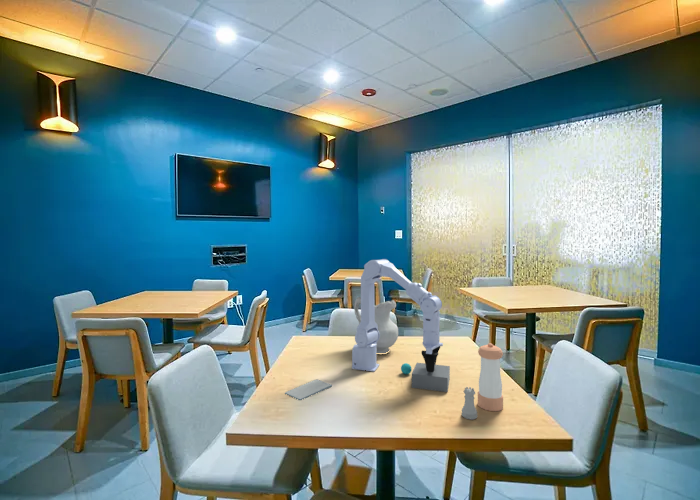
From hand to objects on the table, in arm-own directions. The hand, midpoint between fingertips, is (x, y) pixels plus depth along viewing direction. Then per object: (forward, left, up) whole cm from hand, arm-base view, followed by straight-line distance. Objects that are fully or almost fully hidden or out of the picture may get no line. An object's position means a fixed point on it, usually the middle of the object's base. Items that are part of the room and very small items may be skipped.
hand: (431, 368), depth 125 cm
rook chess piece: (+13, -21, -6) cm, 25 cm away
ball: (-10, +6, -3) cm, 12 cm away
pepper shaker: (+19, -12, -6) cm, 23 cm away
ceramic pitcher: (-29, +31, -6) cm, 43 cm away
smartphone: (-39, -19, -6) cm, 44 cm away
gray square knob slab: (0, 0, -5) cm, 5 cm away
